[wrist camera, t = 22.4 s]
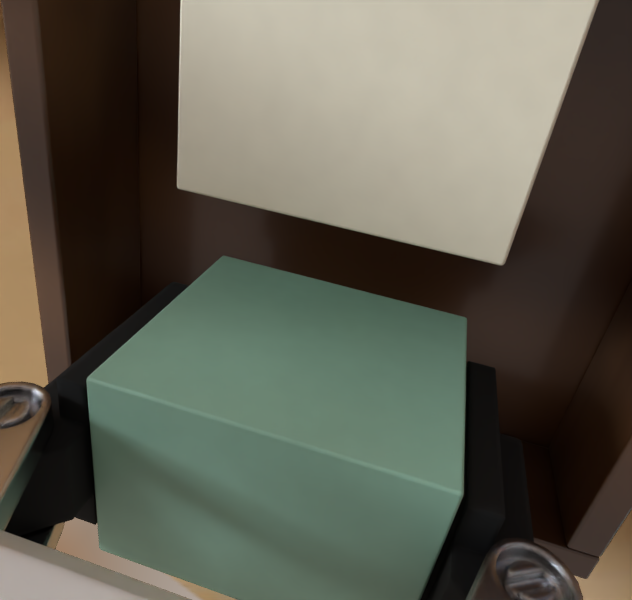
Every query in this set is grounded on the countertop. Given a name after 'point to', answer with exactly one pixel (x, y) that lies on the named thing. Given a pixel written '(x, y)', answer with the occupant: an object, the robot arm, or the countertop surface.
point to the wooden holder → (345, 241)
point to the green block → (282, 438)
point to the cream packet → (377, 111)
